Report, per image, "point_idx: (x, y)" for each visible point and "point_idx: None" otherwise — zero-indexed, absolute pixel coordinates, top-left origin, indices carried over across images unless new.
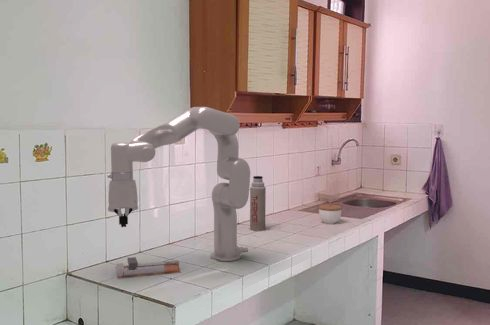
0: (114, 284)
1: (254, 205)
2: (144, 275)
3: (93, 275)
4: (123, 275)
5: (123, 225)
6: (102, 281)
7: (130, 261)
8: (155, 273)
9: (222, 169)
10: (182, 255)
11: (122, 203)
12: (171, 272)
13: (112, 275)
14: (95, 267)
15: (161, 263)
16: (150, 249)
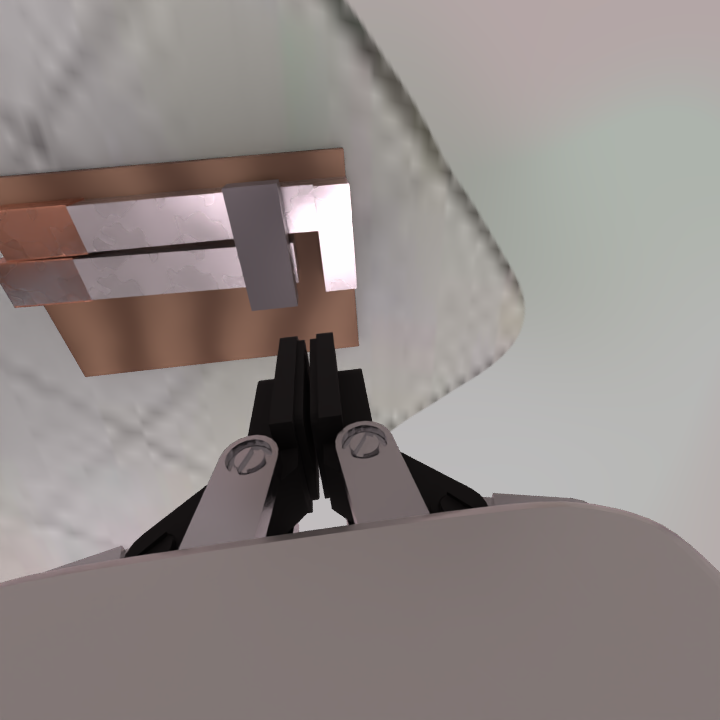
0: (359, 103)
1: None
2: (197, 172)
3: (451, 278)
4: (314, 179)
5: (311, 345)
6: (418, 176)
7: (272, 228)
8: (137, 195)
9: None
10: (90, 467)
11: (322, 701)
12: (41, 196)
13: (370, 261)
14: (435, 375)
15: (104, 272)
16: None
